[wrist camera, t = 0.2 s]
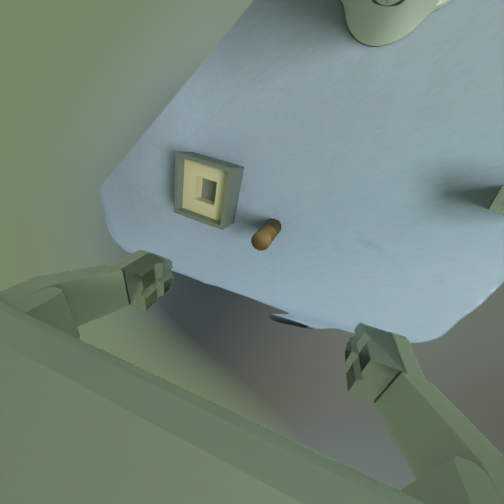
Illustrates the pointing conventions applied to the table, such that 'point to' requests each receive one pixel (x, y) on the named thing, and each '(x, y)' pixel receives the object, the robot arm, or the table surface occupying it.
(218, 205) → the bore box
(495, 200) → the ink cartridge box
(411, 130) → the table surface
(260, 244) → the peg
